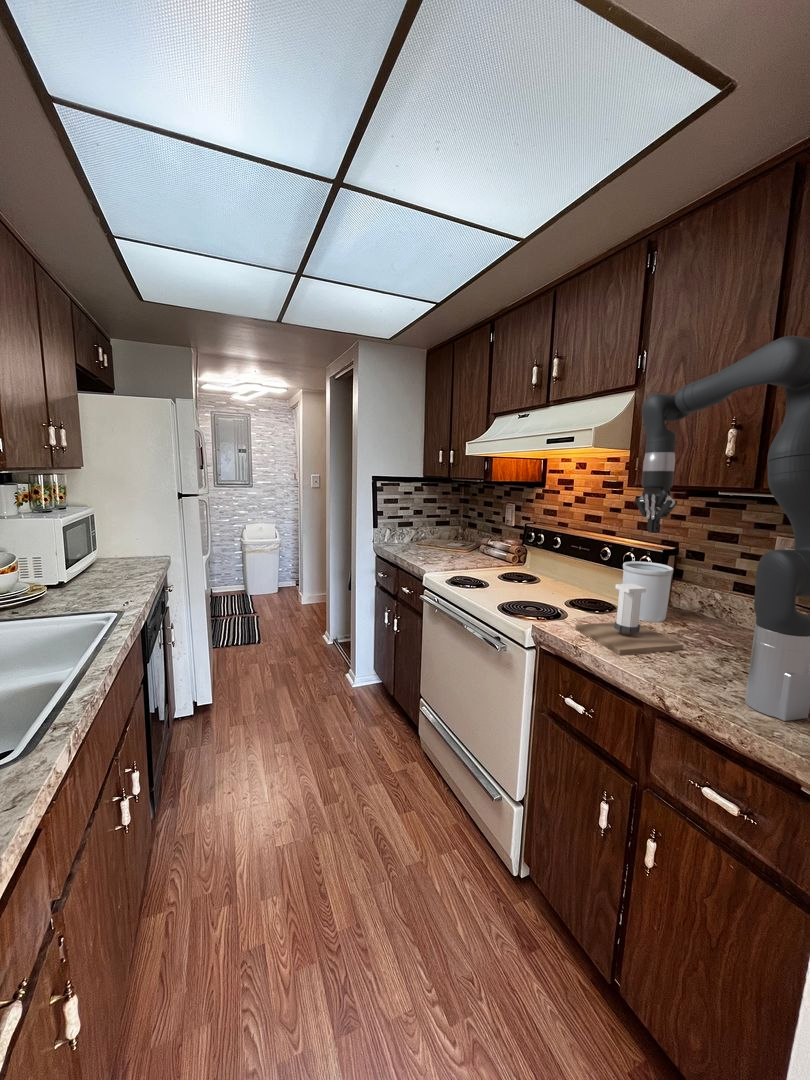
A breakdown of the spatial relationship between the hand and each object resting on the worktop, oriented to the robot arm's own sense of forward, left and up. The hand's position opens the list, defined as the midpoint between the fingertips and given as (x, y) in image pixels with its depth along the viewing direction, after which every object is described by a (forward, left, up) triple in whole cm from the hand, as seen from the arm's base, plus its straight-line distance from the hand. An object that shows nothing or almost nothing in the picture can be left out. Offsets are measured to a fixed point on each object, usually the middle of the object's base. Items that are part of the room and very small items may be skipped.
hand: (652, 532), depth 124 cm
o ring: (+2, +4, -29) cm, 29 cm away
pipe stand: (+2, +4, -32) cm, 32 cm away
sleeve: (+2, +4, -27) cm, 27 cm away
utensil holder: (+20, -17, -32) cm, 42 cm away
